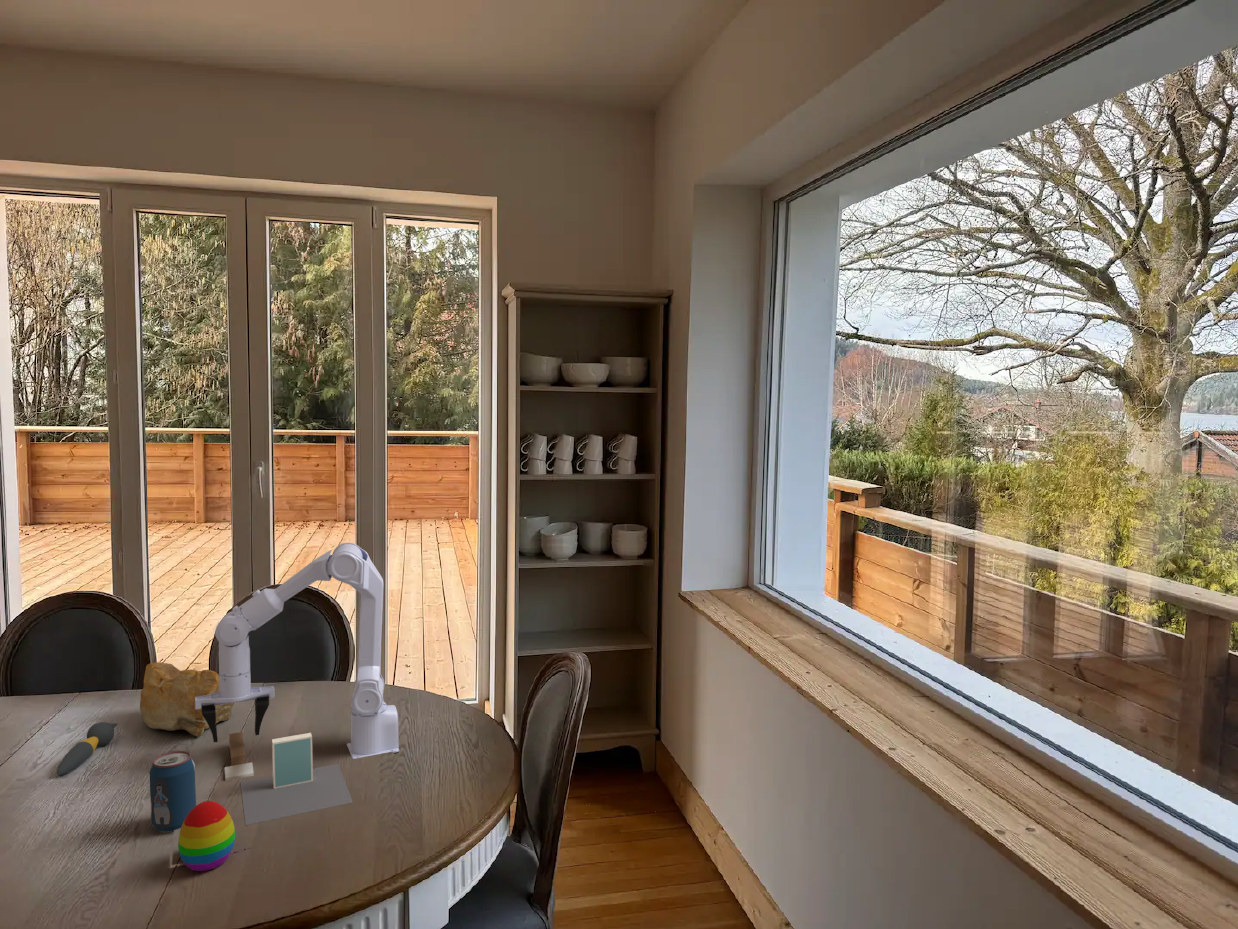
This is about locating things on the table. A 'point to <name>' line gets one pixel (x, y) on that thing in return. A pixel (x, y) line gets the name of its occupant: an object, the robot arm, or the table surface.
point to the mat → (294, 795)
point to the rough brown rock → (178, 698)
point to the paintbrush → (87, 746)
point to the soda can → (172, 790)
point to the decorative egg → (206, 836)
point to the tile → (292, 760)
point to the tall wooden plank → (237, 759)
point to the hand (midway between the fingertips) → (236, 736)
